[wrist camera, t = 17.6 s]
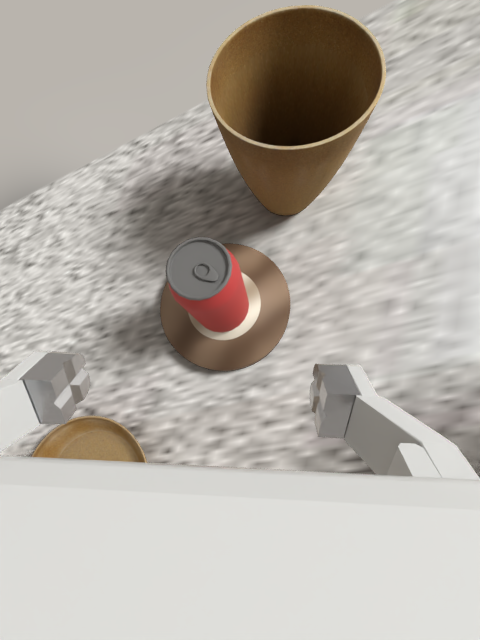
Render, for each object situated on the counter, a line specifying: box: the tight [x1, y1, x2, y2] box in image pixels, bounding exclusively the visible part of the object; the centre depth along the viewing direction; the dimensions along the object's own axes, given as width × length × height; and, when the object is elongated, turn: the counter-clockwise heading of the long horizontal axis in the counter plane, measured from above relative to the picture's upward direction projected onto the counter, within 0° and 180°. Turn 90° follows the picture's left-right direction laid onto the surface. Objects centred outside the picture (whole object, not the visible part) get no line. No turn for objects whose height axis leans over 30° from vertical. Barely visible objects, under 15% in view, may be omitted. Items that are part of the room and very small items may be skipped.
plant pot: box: [206, 5, 386, 215], centre depth 32 cm, size 15×15×16 cm
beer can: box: [166, 237, 249, 333], centre depth 30 cm, size 7×7×12 cm
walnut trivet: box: [160, 244, 290, 371], centre depth 37 cm, size 16×16×2 cm
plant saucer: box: [31, 416, 147, 463], centre depth 33 cm, size 15×15×3 cm
